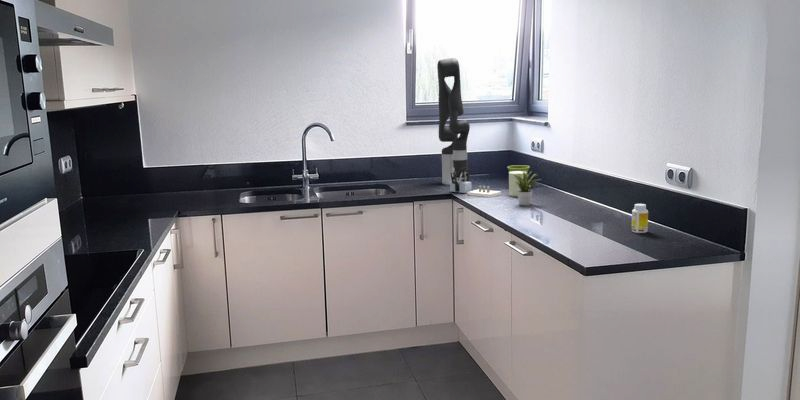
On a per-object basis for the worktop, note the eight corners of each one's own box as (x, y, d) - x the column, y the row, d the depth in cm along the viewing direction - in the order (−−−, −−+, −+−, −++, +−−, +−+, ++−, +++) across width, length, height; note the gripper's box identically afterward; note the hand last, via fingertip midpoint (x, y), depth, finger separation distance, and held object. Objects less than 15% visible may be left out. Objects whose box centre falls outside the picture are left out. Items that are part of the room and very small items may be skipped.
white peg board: (478, 192, 330) (478, 183, 329) (501, 194, 321) (501, 185, 320) (467, 194, 323) (467, 186, 322) (490, 197, 314) (489, 188, 313)
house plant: (523, 209, 282) (523, 172, 279) (501, 204, 294) (501, 170, 291) (545, 204, 290) (545, 169, 287) (524, 200, 301) (524, 166, 298)
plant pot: (502, 187, 341) (502, 167, 339) (516, 184, 348) (516, 164, 346) (520, 189, 332) (520, 168, 330) (534, 186, 340) (534, 166, 338)
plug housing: (456, 189, 337) (456, 180, 336) (471, 191, 331) (471, 182, 330) (450, 191, 333) (449, 182, 332) (465, 193, 327) (465, 183, 326)
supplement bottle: (650, 231, 233) (650, 204, 232) (643, 234, 229) (644, 206, 228) (635, 229, 237) (636, 202, 235) (628, 232, 233) (629, 205, 231)
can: (530, 195, 315) (530, 171, 313) (515, 197, 312) (514, 173, 310) (520, 192, 324) (520, 169, 321) (505, 194, 320) (505, 171, 318)
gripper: (462, 156, 336) (463, 188, 340) (445, 159, 326) (446, 192, 329) (474, 157, 331) (474, 189, 335) (457, 160, 321) (458, 193, 324)
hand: (460, 190), depth 332 cm, fingers closed on plug housing, 5 cm apart
